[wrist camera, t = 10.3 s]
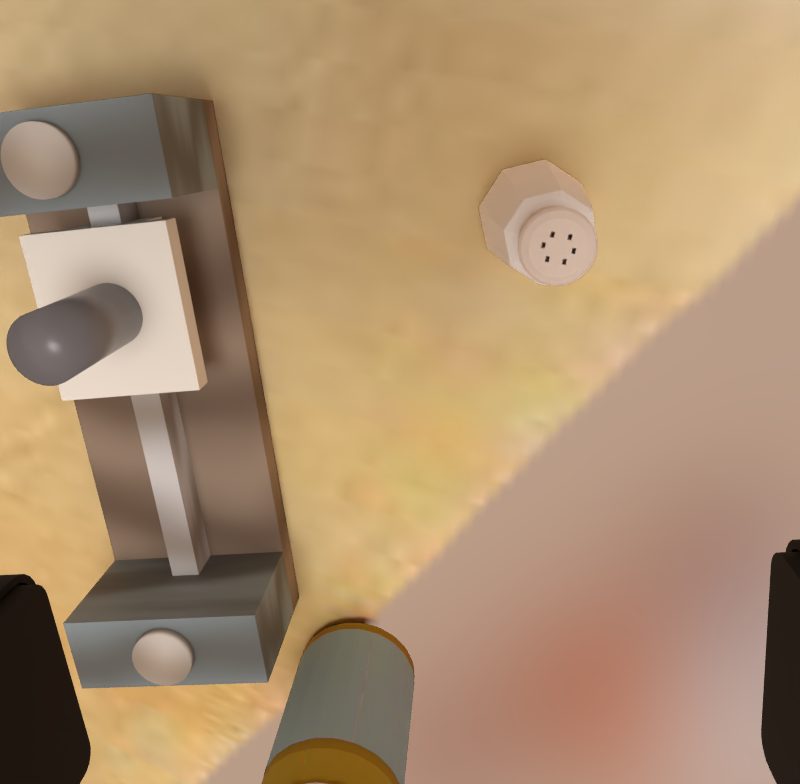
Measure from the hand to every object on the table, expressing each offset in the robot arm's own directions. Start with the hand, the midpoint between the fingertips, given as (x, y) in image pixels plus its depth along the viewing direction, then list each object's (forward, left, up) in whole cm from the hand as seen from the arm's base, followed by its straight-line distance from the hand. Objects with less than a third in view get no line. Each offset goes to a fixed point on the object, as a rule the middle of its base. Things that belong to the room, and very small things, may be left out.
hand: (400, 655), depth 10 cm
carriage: (0, -16, -29) cm, 33 cm away
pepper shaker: (-2, +4, -31) cm, 31 cm away
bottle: (+24, -8, -31) cm, 40 cm away
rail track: (+5, -16, -30) cm, 35 cm away
